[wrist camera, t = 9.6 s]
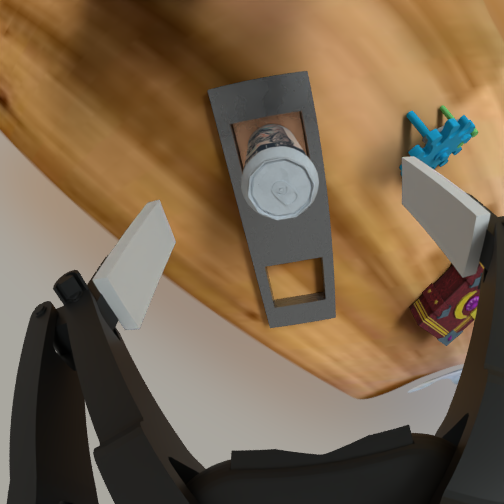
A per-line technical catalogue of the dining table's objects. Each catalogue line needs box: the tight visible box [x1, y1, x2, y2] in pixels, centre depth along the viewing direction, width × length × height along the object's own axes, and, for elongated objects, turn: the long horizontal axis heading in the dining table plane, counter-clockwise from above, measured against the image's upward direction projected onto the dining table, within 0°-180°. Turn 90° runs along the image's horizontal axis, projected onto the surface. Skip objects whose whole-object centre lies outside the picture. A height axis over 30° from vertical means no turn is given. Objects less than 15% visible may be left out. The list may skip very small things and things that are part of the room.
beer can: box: [241, 124, 319, 220], centre depth 21 cm, size 5×5×12 cm
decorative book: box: [409, 261, 484, 346], centre depth 34 cm, size 11×16×5 cm
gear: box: [399, 105, 478, 176], centre depth 22 cm, size 11×6×10 cm
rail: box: [208, 71, 336, 328], centre depth 30 cm, size 30×9×2 cm, turn 12°
